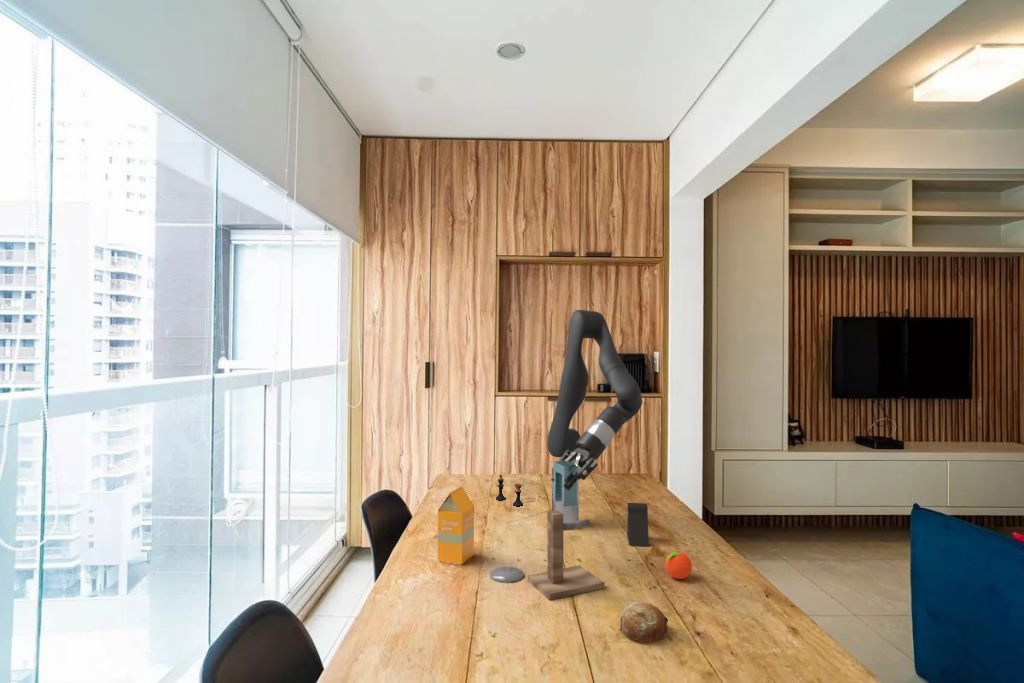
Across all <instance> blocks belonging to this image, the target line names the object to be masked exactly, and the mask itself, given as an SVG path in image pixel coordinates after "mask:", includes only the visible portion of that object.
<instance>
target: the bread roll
mask: <svg viewBox="0 0 1024 683" xmlns="http://www.w3.org/2000/svg"><path fill="white" fill-rule="evenodd" d="M668 621H669V620H668V617H666V615H665V614H664V613H663V611H662V610H661V609H660V608H659V607H657V606H656V605H653V604H652V603H648V602H643V601H640V600H635V601H631V602H629V603H628V604H627V605H626V606H625V608H624V609H623V610H622V612H621V617H620V625H619V627H618V628H619V630H620V631H621V632H622V634H623V635H624V636H626V637H627V639H628V640H630V641H633V642H636V643H640V644H641V643H642V644H650V643H651V644H652V643H656V642H660V641H662V640H664V638H665V637H666V636H667V634H668V630H669V627H668Z"/></svg>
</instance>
